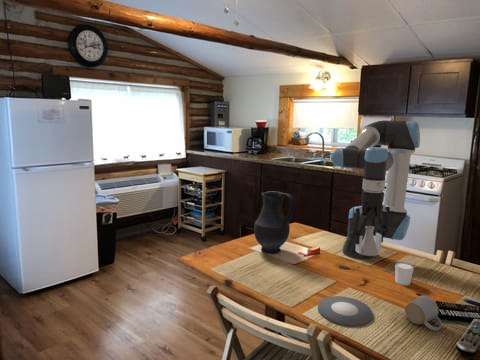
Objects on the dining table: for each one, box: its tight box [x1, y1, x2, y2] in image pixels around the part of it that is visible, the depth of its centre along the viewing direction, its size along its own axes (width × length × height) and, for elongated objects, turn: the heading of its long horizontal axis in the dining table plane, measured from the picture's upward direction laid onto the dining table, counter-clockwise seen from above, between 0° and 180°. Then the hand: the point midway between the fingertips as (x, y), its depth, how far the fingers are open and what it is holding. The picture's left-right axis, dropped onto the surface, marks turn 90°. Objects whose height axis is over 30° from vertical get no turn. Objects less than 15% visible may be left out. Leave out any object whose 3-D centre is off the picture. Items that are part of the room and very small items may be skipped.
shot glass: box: [394, 262, 414, 286], centre depth 152 cm, size 7×7×7 cm
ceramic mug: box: [404, 295, 443, 332], centre depth 123 cm, size 11×8×8 cm
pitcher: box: [253, 190, 296, 255], centre depth 181 cm, size 17×21×30 cm
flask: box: [361, 226, 379, 257], centre depth 138 cm, size 7×7×10 cm
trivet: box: [317, 295, 373, 327], centre depth 129 cm, size 18×18×1 cm
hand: (367, 251), depth 139 cm, fingers closed on flask, 7 cm apart
